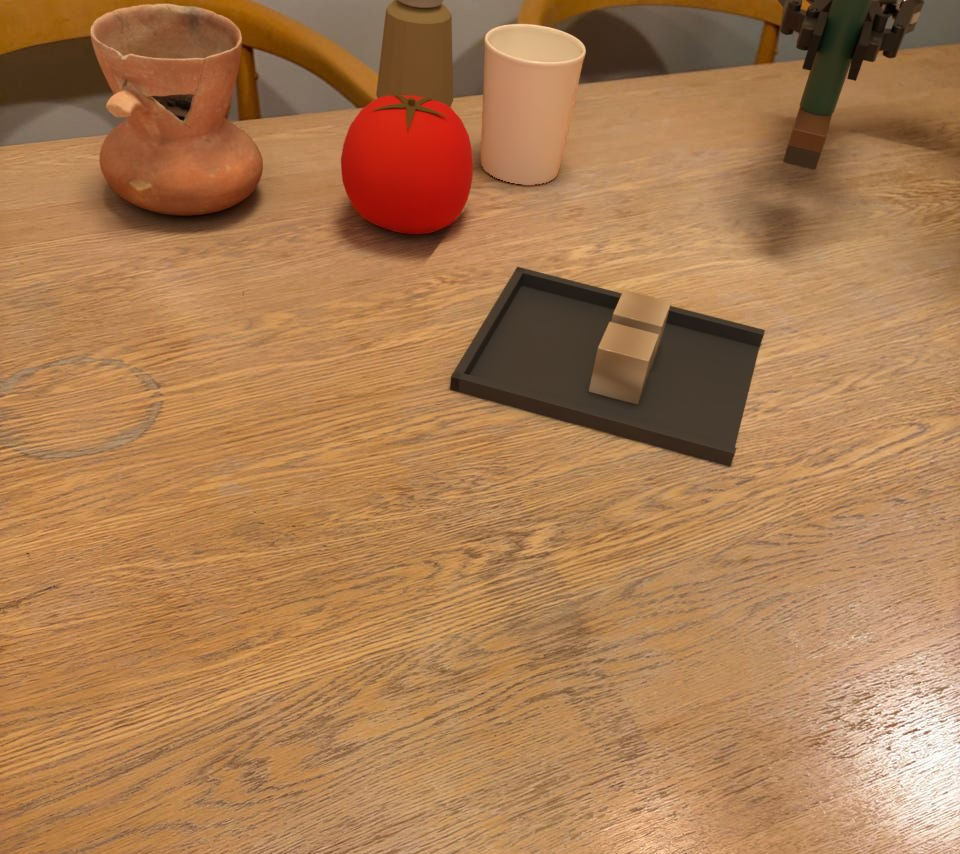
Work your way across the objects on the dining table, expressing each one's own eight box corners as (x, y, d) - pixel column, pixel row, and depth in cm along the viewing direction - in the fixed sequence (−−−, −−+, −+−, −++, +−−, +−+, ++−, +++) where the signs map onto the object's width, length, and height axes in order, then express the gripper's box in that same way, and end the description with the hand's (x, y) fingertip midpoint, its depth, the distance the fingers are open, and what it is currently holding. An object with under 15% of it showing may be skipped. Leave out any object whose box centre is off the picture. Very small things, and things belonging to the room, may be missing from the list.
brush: (828, 122, 100) (893, -70, 88) (816, 170, 93) (885, -32, 81) (796, 114, 101) (856, -77, 89) (781, 162, 93) (845, -41, 81)
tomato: (469, 196, 102) (480, 78, 94) (465, 263, 93) (477, 140, 85) (350, 183, 101) (350, 63, 93) (334, 250, 93) (333, 124, 84)
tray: (448, 402, 79) (450, 375, 77) (513, 291, 91) (517, 266, 89) (725, 478, 76) (735, 453, 75) (756, 354, 88) (765, 329, 86)
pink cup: (457, 152, 108) (467, 27, 99) (537, 142, 112) (554, 20, 103) (500, 195, 103) (515, 67, 94) (583, 183, 106) (605, 58, 97)
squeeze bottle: (363, 138, 108) (366, -61, 95) (392, 110, 113) (398, -82, 100) (435, 156, 107) (447, -43, 93) (460, 127, 112) (476, -65, 99)
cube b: (647, 377, 82) (659, 334, 79) (637, 405, 79) (649, 361, 76) (599, 365, 82) (609, 321, 79) (588, 391, 80) (597, 347, 77)
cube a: (660, 344, 85) (671, 301, 82) (650, 370, 83) (662, 326, 80) (613, 332, 86) (623, 289, 83) (603, 357, 83) (612, 313, 80)
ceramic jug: (206, 254, 90) (187, 83, 79) (65, 211, 92) (28, 39, 82) (303, 175, 101) (298, 15, 91) (175, 138, 104) (155, -21, 93)
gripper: (921, 39, 103) (912, 125, 88) (763, 5, 105) (728, 83, 90) (954, -47, 98) (951, 29, 82) (786, -81, 100) (753, -13, 85)
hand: (834, 57), depth 86 cm, fingers closed on brush, 3 cm apart
